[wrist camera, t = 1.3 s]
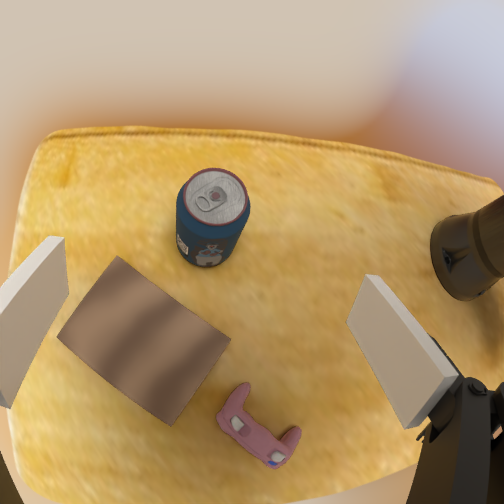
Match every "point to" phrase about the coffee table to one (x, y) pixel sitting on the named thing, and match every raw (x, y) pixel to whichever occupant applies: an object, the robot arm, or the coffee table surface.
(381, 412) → the coffee table surface
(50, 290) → the robot arm
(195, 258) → the soda can
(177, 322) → the walnut board
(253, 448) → the video game controller
